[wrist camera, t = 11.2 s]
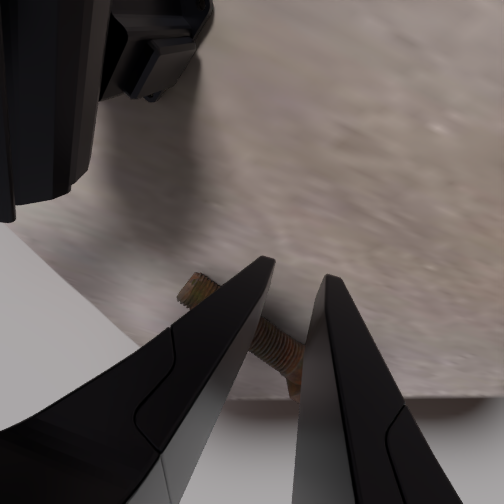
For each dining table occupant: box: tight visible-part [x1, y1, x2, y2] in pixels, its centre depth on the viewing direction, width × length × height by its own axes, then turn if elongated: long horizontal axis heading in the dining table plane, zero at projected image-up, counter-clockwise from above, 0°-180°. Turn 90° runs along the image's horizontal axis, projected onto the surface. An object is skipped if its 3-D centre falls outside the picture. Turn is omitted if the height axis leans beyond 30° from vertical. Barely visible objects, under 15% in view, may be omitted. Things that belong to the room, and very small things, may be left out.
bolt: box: [177, 272, 305, 404], centre depth 27 cm, size 6×5×15 cm
